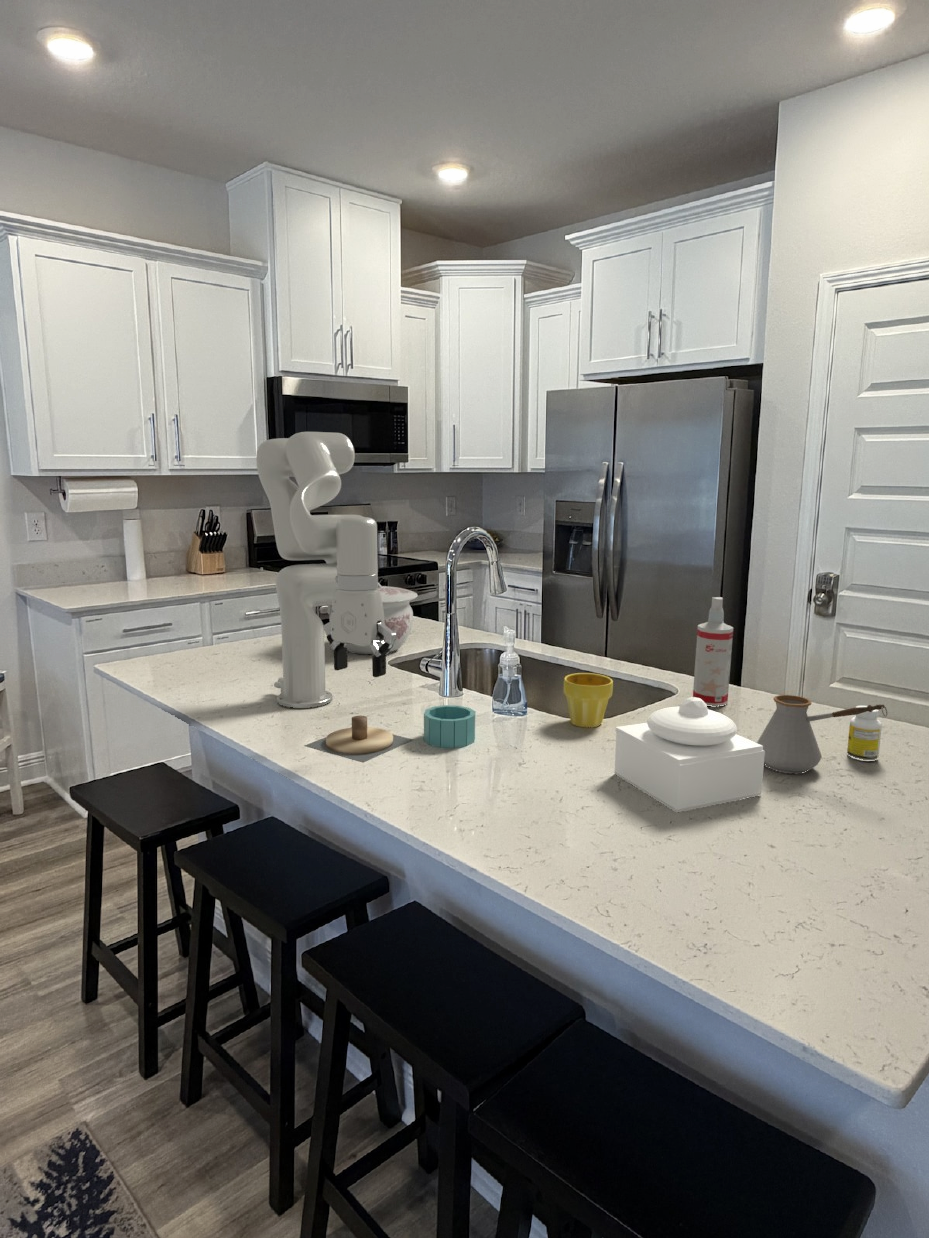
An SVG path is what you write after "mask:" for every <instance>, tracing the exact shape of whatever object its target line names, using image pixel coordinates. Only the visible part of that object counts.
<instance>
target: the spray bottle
mask: <svg viewBox="0 0 929 1238" xmlns="http://www.w3.org/2000/svg"><path fill="white" fill-rule="evenodd" d="M723 600H724V598H723V597H721V596H716V597H714V596H712V597H711V607H710V609H709V611H708V619H707V621H706V622H703V623H700V624H698V625H697V631H696V632H697V633H696V646H695V660H694V661H695V662H694V674H693V677H694V678H693V689H692V697H696V698H701V699H702V700H703V701H704V702H705V703H706V704H707V705H712V706H718V705H719V706H720V705H725V704H727V705H728V704H729V703H728V700H729V689H730V688H729V687H730V678H731V677H730V673H731V662H732V652H733V650H732V648H733V639H734V638H733V637H734V627H733V626H731V625H728V624H727V623H725V622H724V619H725V612H724V608H723Z"/></svg>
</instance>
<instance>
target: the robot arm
mask: <svg viewBox="0 0 929 1238" xmlns="http://www.w3.org/2000/svg"><path fill="white" fill-rule="evenodd" d="M355 453H356V452H355V447H354V445H353V443H352V441H351V439H350V438H349V437H348V436H347V435H345V434H343V433H341V432H329V431H328V432H325V431H324V432H323V431H301V432H296V433H294V434H293V435H291V436H289V437H288V438H287V437H286V438H285V437H283V438H281V437H279V438H271V439H267V440H265V441H263V442H262V443H260V445H259V446H258V447H257V451H256V457H255V458H256V469H257V473H258V478H259V481H260V484H261V485H262V488H263V490H264V492H265V495H266V496H267V499H268V501H269V506H270V511H271V519H272V524H273V530H274V531H273V532H274V538H275V543H276V544H275V545H276V549H277V551H278V554H279V556H280V557H281V558H282V559H284V560H285V561H286V560H287V561H317V560H318V561H319V560H320V561H321V560H324V561H325V563H309V564H307V563H306V564H294V565H293V564H292V565H290V566H286V567H283V568H281V570H280V571H278V573H277V574H276V577H275V590H276V595H277V599H278V605H279V612H280V613H279V614H280V624H281V628H280V629H281V648H282V649H281V651H282V652H281V653H282V677H279V678H278V679H277V681H275V682H274V683H273V684H274V685H273V687H274V688H277V689H280V693H279V694H278V695H277V696H276V702H278V703H279V704H278V703H277V704H278V705H280V706H282V705H283V706H282V707H285V706H287V707H286V708H290V707H293V708H292V709H311V708H310V707H312V708H318V707H321V706H320V705H322V706H325V704H326V705H328V704H330V703H331V702H332V701H333V693H332V692H330V691H328V690H326V661H325V660H326V656H325V654H326V653H325V652H326V651H325V649H326V648H325V646H326V645H325V636H326V640H327V641H328V642H329V644H330V649H331V650H332V651H333V669H334V671H341V670H345V669H346V668H348V667H349V664H348V663H349V661H348V651H347V648H344V646H345V645H346V644H352V645H359V646H368V645H369V646H370V648H371V649H372V651H373V653H374V654H375V655H372V658H371V663H372V664H371V666H372V671H371V672H372V676H373V678H378V677H381V676H385V675H386V674H387V655H388V654H389V653H390V652H389V651H390V649H391V648H392V647H393V643H394V641H395V639H396V636H397V635H396V633H395V632H393V631H392V630H391V629H389V628H388V627H387V626H386V625H385V621H384V611H383V603H382V598H381V594H380V591H378V583H379V576H378V575H379V574H378V572H379V567H378V564H379V562H378V524H377V522H376V520H375V519H374V518H371V517H368V516H362V515H360V514H313V515H312V514H311V511H312V510H315V509H317V508H319V507H321V506H324V505H326V504H328V503H329V502H331V501H332V500H334V499H335V498H336V497H337V496H338V495H339V493H340V491H341V489H342V479H341V476H340V475H342V474H346V473H347V472H349V471H350V470H351V469H352V468H353V467H354V463H355V460H356V459H355V458H356V455H355ZM290 477H291V478H292V477H293V478H294V479H295V482H296V483H295V482H294V481H292V479H290ZM327 605H332V613H331V621H330V620H329V622H327V623H325V624H324V622H323V621H322V619H321V617H319V616H318V615H317V613H316V611H315V612H314V611H313V609H312V608H313V607H316V608H317V607H321V606H327ZM384 637H386V640H385V643H384V642H383V640H384ZM377 645H378V646H379V648H378V646H377ZM329 702H330V703H329ZM327 703H328V704H327ZM317 706H318V707H317Z"/></svg>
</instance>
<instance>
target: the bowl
mask: <svg viewBox="0 0 929 1238" xmlns="http://www.w3.org/2000/svg"><path fill="white" fill-rule="evenodd" d="M475 740H476V711H475V710H474V709H473V708H470V707H467V706H463V705H457V704H456V705H455V704H454V705H452V704H451V705H450V704H446V705H445V704H443V705H437V706H436V705H435V706H432V707H429V708H426V709H425V710H424V712H423V741H424V742H425V743H426V744H427V745H429V746H432V747H436V748H441V749H457V748H465V747H469V746H470V745H472V744H474V743H475V742H476V741H475Z"/></svg>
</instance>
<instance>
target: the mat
mask: <svg viewBox="0 0 929 1238" xmlns="http://www.w3.org/2000/svg"><path fill="white" fill-rule="evenodd" d="M350 728H352V726H351V727H350ZM391 734H392V735H393V744H392V745H391V746H390V747H389V748H387V749H385V750H382V751H379V752H375V753H368V754H344V753H339V752H335V751H333V750H330V749H329V748H328V747H327V746H326V737H327V736H325V737H323V738H320V739H318V740H315V741H313V742H310V743H307V744H304V745H303V746H304V747H307V748H310V749H315V750H318V751H320V752H321V751H322V752H325V753H328V754H332V755H336V756H339V757H343V758H346V759H350V760H354V761H357V762H361V763H365V762H367V761H370V760H372V759H374V758H377V757H379V756H381V755H383V754H385V753H388V752H390V751H392V750H394V749H396V748H399V747H402V746H404V745H405V744H407V743H410V742H412V741H414V739H413V738H409V737H404V736H402V735H396V734H393V733H391Z"/></svg>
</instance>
